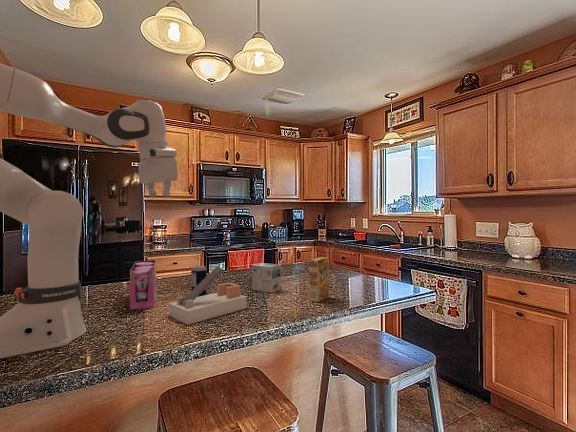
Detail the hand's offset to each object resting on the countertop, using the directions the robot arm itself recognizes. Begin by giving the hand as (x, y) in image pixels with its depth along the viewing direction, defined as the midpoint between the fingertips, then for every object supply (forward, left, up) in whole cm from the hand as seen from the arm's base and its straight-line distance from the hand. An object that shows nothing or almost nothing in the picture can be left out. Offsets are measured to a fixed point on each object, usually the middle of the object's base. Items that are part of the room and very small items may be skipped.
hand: (159, 196), depth 107 cm
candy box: (+48, -27, -39) cm, 68 cm away
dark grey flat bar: (+9, -10, -30) cm, 33 cm away
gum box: (+2, +20, -39) cm, 44 cm away
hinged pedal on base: (+11, -10, -38) cm, 41 cm away
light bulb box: (+44, -2, -39) cm, 59 cm away
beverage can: (+18, +8, -39) cm, 43 cm away
